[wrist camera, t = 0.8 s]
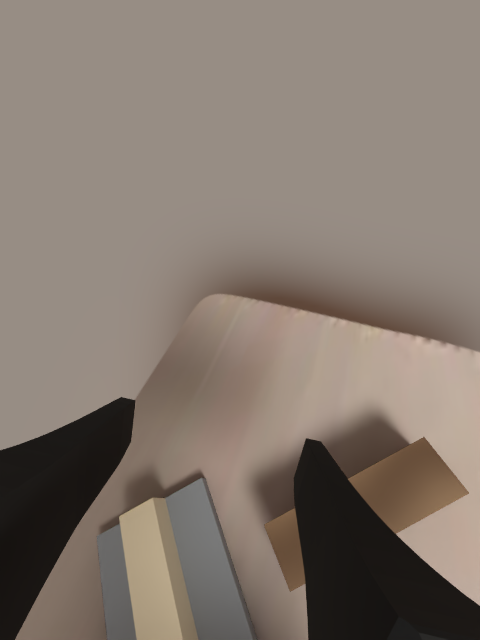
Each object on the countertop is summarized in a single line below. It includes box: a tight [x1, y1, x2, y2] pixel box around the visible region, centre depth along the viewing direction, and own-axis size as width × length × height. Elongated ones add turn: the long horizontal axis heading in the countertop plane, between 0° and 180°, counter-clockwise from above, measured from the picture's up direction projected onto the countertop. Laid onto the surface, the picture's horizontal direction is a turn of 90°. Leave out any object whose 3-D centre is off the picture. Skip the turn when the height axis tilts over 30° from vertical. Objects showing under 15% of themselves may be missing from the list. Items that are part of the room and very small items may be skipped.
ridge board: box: [97, 478, 257, 640], centre depth 21 cm, size 12×10×3 cm
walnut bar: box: [264, 437, 469, 592], centre depth 20 cm, size 4×12×4 cm, turn 115°
